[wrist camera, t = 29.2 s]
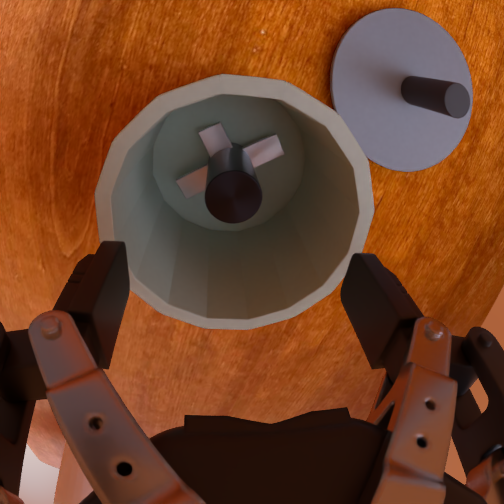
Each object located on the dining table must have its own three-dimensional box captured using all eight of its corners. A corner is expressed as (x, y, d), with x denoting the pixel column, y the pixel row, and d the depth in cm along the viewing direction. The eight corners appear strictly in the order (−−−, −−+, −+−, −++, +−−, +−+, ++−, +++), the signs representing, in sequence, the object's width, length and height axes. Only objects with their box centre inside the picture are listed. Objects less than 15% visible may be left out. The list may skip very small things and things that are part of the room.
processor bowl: (145, 232, 25) (114, 323, 16) (147, 73, 19) (91, 75, 10) (297, 240, 27) (334, 329, 18) (325, 89, 20) (399, 106, 11)
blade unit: (202, 219, 24) (197, 271, 18) (161, 147, 21) (139, 178, 15) (293, 178, 23) (320, 219, 17) (260, 100, 20) (278, 112, 14)
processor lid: (313, 154, 23) (344, 183, 17) (338, -13, 16) (378, -35, 10) (446, 179, 25) (491, 209, 19) (473, 45, 18) (526, 51, 12)
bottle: (72, 435, 44) (56, 551, 23) (66, 408, 39) (41, 549, 18) (132, 451, 47) (127, 569, 26) (137, 427, 42) (129, 572, 21)
